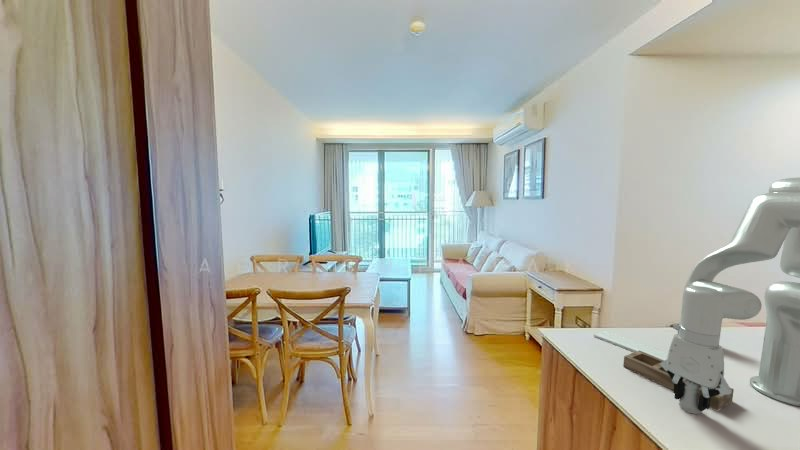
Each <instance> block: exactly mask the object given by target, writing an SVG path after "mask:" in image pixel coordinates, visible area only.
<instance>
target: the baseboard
mask: <svg viewBox="0 0 800 450" xmlns="http://www.w3.org/2000/svg"><path fill="white" fill-rule="evenodd" d="M593 337H594V338H597V339H599V340H602V341H604V342H606V343H609V344H611V345H614V346H617V347H619V348H622V349H625V350H627V351H630V352H632V353H634V352H637V351H639V350H640V351H642V352H645V353H647V354H650V355H652V356H654V357H657V358H659V359H662V360H664V361H665V360H666V359H667V357H668V353H669V352H666V351H663V350H660V349H656V347H655V348H654V347H651V346H649V345H646V344H643V343H640V342H637V341H635V340H633V339H629V338H626V337H623V336H621V335H619V334H615V333H612V332H609V331H607V330H602V331H599V332H597V333H594V334H593Z"/></svg>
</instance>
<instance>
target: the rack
mask: <svg viewBox="0 0 800 450" xmlns="http://www.w3.org/2000/svg"><path fill="white" fill-rule="evenodd" d="M663 361H664V360H662V359H659V358H657V357H654V356H652V355H650V354H647V353H645V352H642V351H640V350H639V351H637V352H632V353H629V354H625V355H624V356H623V365H622V366H623V367H624V368H626V369H628V370H630V371H631V372H634V373H636V374H639V375H641V376H642V377H645V378H647V379H649V380H651V381H653V382H656V383H658V384H660V385H662V386H663V387H666V388H668V389H670V390H672V391H673V390H674V383H673V381H672V378H671V377H670V376H669V374H668V373H667V371H666V370H665V369H664V368H663V367H662V366H661V365H660V364H661V363H662V362H663ZM684 380H686V379H685V378H684V379H683V382H684ZM684 384H685V383H684ZM685 386H686V384H685ZM716 388H721V387H720V386H719V384H718V386H717V387H716ZM685 389H686V388H685ZM685 389H684V394H685ZM714 389H715V388H714ZM730 389H731V390H732V393H731V394H729V395H716V396H712V397H711V402H710V407H709V409H713V410H715V411H717V412H718V411H719V410H721V409H723V408H724V407H726V406H727V405H729V404H730V403H732V402H733V398H734V397H733V396H734V391H735V390H734V388H732V387H730ZM698 390H699V393H698V401H699V397H700V395H702V386H701V387H700V388H699V389H698Z"/></svg>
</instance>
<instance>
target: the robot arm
mask: <svg viewBox="0 0 800 450" xmlns="http://www.w3.org/2000/svg"><path fill="white" fill-rule="evenodd" d="M781 248H782V251H781V255H780V263H779V264H780V265H779V267H780V270H781V271H782V272H783V273H784V274H785V275H787V276H791V277H795V278H799V279H800V177H798V176H797V177H788V178H781V179H779V180H775V181H774V182H772V183H771V184H770V186H769V188H768V192H766V193H762V194H757V196H755V197H754V198H753V199H752V200H750V202H749V205H748V206H747V208H746V210H745V211H744V214H743V216H742V218H741V219H740V222H739V224H738V226H737V228H736V230H735V231H734V233H733V235H732V238H731V240H730V242H729V243H728V244H726V245H725V246H722V247H720V248H719V249H716V250H714V251H712V252H711V253H709V254H708V255H706V256H705V257H704V258H702V259H701V260H699V261H698V262H697V263H696V264H695V266H694V267H693V269H692V270H691V272H690V274H689V276H688V278H687V280H686V282H685V286H684V289H683V292H682V299H681V308H680V319H679V324H677V323H673V324H672V329H674V330H676V331H677V334H674V335H673V337H672V339H671V342H670V346H669V350H668V352H667V353H668V357H667V359H666V360H665V361H663V362H662V363H661V364H660V365H661V366H662V367H663V368H664V369H665V370H666V371H667V373H668V374H669V376H670V377H671V378H672V381H673V383H674V390H672V392H673V394H674V399H676V400H680V398H682V396H684V389H685V384H684V383H685V382H683V379H684V378H685V379H687V380H690V381H692V382H694V383H697V384H699V385H701V386H702V395H700V397H699V405H698V409H699V410H700V411H701V412H703V411H705V410H709V409H710V402H711V397H712V396H716V395H729V394H731V393H732V390H731V389H730V388H731V387H730V386H729V384H728V383H727V381H726V378H725V377H724V376H725V360H724V359H725V358H724V357H725V356H724V351H723V347H722V345H720V339H721V332H722V324H723V319H730V320H740V321H741V320H742V321H743V320H750V319H753V318H754V317H756V316H757V315H759V314H760V312H761V311H762V301H761V299H760V298H759V296H758V295H756V294H755V293H753V292H751V291H749V290H747V289H743V288H739V287H736V286H731V285H728V284H724V283H719V282H716V281H714V279H715V278H716V276H717V275H719V274H720V273H721V272H723V271H725V270H726V269H729V268H731V267H734V266H737V265H744V264H749V263H756V262H764V261H770V260H772V259H775V258H776V257H777V256H778V254H779V253H780V250H781ZM764 305H765V313H766V316H765V319H766V320H765V327H764V328H765V329H764V335H763V343H762V349H761V350H762V351H761V357H760V363H759V371H758V376H757V375H756V376H751V377H750V378H749V385H750V386H751V387H752V388H754V390H756V391H757V392H759V393H761V394H763V395H764V396H767V397H769V398H772V399H774V400H776V401H779V402H782V403H785V404H789V405H792V406H798V407H800V282H797V281H786V280H783V281H775V282H773V283H770V284H769V285H768V286H767V287H766V289H765V291H764ZM718 384H719V386H720V387H721V388H716V387H717V386H718ZM714 388H715V389H714Z"/></svg>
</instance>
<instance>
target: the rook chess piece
mask: <svg viewBox="0 0 800 450" xmlns="http://www.w3.org/2000/svg"><path fill="white" fill-rule="evenodd" d="M684 382H685V384H686V386H685V388H686V389H685V394H684V396H682V398H680V399H678V401H679V402H678V406H679V407H680V408H681V409H682V410H683V411H684V412H686V413H689V414H692V415H699V414H702V411H700V410H699V409H698V405H699V401H698V393H699V390H698V389H699V388H700V387H701V385H699V384H697V383H694V382H692V381H690V380H687V379H686V380H684Z"/></svg>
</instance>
